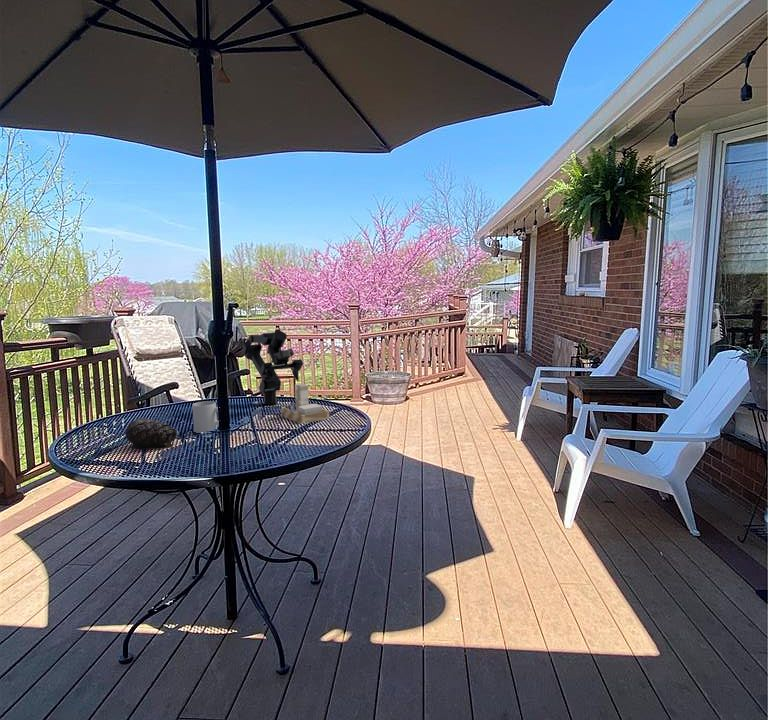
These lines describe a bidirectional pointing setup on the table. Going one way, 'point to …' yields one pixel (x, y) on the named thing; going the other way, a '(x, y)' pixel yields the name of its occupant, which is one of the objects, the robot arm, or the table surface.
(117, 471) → the table surface
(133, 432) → the pine cone
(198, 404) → the mug
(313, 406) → the offcut top
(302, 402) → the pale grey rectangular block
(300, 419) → the tray
